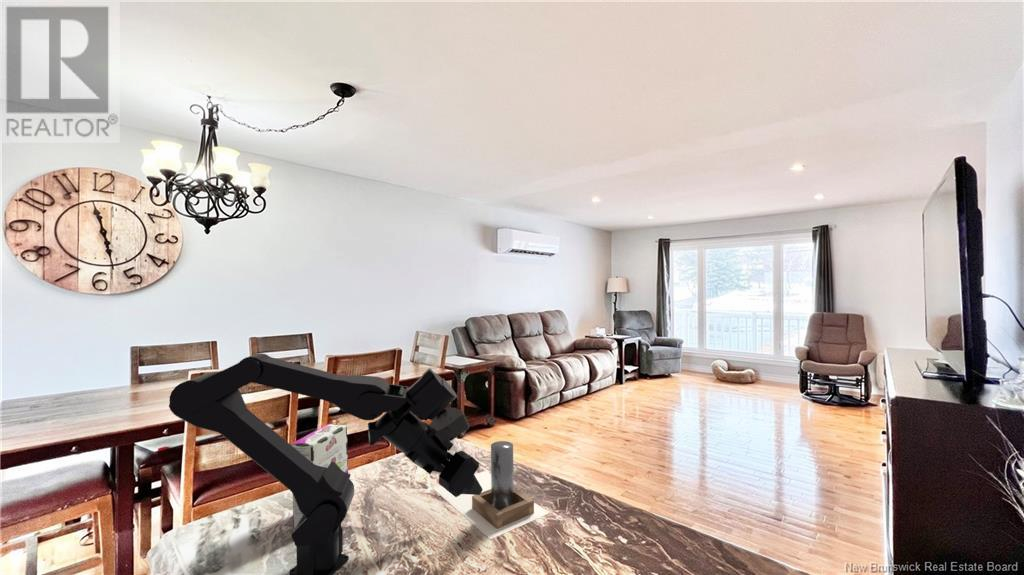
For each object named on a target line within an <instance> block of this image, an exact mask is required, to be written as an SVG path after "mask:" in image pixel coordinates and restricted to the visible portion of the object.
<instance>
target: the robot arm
mask: <svg viewBox="0 0 1024 575" xmlns="http://www.w3.org/2000/svg"><path fill="white" fill-rule="evenodd" d="M252 383H253V384H258V385H262V386H266V387H271V388H274V389H278V390H281V391H285V392H289V393H294V394H298V395H303V396H306V397H309V398H310V397H311V398H314V399H317V400H322V401H326V402H328V403H331V404H332V405H334V406H335V407H337V408H338V409H340V410H341V411H343V412H344V413H347V414H348V415H350V416H353V417H355V418H358V419H359V420H363V421H370V422H368V423H367V430H368V431H367V432H368V433H367V436H368V442H369V443H368V444H369V446H371V447H373V446H374V445H375V444H377V442H378V441H380V440H381V439H382V438H383V439H385V440H386V441H387V442H389V443H390V444H391V445H393V447H394V448H396V449H398V450H399V452H401V453H403V455H404V456H405V457H406V458H407V459H409V461H411V462H412V463H414V464H415V465H417V466H418V467H419V468H421V469H423V470H424V471H425V472H426V473H427V474H429V475H432V473H433V472H436V473H439V475H438V484H439V486H442V487H444V488H445V489H446V490H447V491H448V492H450V493H451V494H452V495H453V496H455V497H458V496H460V495H461V494H471V495H480V493H481V492H482V490H483V489H482V487H481V486H480V484H479V482H478V480H477V479H476V477H475V474H476V473H477V471H478V470H479V468H480V462H478V460H476V459H475V458H474V457H473V456H471V455H470V454H468V452H465V451H463V450H460V451H456V452H455V453H454V454H452V453H451V452H449V451H451V449H452V447H454V445H455V444H454V443H452V442H451V441H454V440H455V439H456V438H457V437H459V436H460V435H461V434H463V433H464V432H467V431H468V430H469V429H470V424H469V422H468V419H467V417H466V415H465V413H464V412H463V410H461V409H458V408H456V407H450V406H449V405H450V404H451V403H452V402H453V401H454V400H456V398H457V397H458V395H457V393H456V392H455V390H454V388H452V386H451V385H450V384H449V383H448V382H447V380H445V378H444V377H443V378H442V377H441V376H440V375H439V374H437V373H436V372H434V371H433V369H431V368H428V369H427V370H425V371H424V372H423V373H422V375H421V376H420V377H419V378H418V379H417V380H416V381H415V382H414V383H413V384H412V385H411V386H406V385H401V384H399V385H398V384H391V383H389V382H388V380H386V379H384V378H383V377H379V376H372V375H363V374H362V375H361V374H355V375H354V374H351V375H349V374H348V375H343V374H337V373H333V372H328V371H325V370H321V369H317V368H314V367H309V366H307V365H302V364H298V363H294V362H291V361H287V360H285V359H284V360H283V359H280V358H275V357H272V356H270V355H268V354H265V353H260V352H259V353H254V354H253V355H252V354H251V355H250V356H247V357H244V358H243V359H241V360H240V361H238V362H237V363H235V364H234V365H231V366H230V367H227V368H225V369H223V370H221V371H217V372H213V371H212V372H207V373H205V374H204V373H203V374H201V375H199V376H196V377H194V378H191V379H189V380H185V381H183V382H181V383H179V384H177V385H176V386H175V387H174V388H173V390H172V391H171V392H170V395H169V404H168V407H169V410H170V411H171V413H172V414H173V415H174V416H175V417H178V418H179V419H181V420H183V421H184V422H186V423H188V424H189V425H192V427H195V428H198V429H199V428H200V429H202V430H203V429H204V430H206V431H210V432H215V433H218V434H219V435H221V436H223V437H224V438H225V439H226V440H228V441H229V443H231V444H233V446H235V447H236V448H237V449H238V450H239V451H241V452H242V453H244V454H245V455H246V456H248V458H249V459H250V460H252V461H253V462H255V463H256V465H258V466H260V467H261V468H262V469H263V470H265V471H266V472H267V473H269V475H271V476H272V477H273V478H274V479H275V480H277V481H278V482H279V483H280V484H282V485H283V486H284V487H285V488H287V489H288V490H289V491H290V492H291V493H292V497H293V496H294V498H295V501H296V503H297V505H298V508H299V510H300V512H301V513H302V514H303V516H302V517H301V519H300V521H299V522H298V524H297V526H296V528H293V529H294V530H293V531H292V533H291V538H292V541H293V543H294V545H295V547H296V550H295V551H296V553H295V554H296V555H295V556H296V565H295V566H293V567H292V568H291V569H290V570H289V571H288V574H289V575H332V574H334V573H335V572H337V570H339V569H340V568H341V567H342V566H343V565H345V564H346V563H347V562H348V561H349V559H350V556H349V555H348V554H343V551H344V548H343V547H344V545H343V544H344V543H343V542H344V539H343V536H344V534H343V527H342V523H343V522H344V520H345V518H346V516H347V513H348V511H349V509H350V506H351V503H352V501H353V498H354V496H355V485H354V483H353V481H352V480H351V479H350V478H351V473H349V472H348V473H345V472H344V471H342V470H341V469H340V468H339V467H338V465H337V464H336V463H334V462H331V463H330V465H329V466H328V468H326V467H322V466H317V465H315V464H313V463H312V462H311V461H309V460H308V459H307V458H306V457H305V456H303V455H302V454H301V453H300V452H299V451H297V450H296V449H295V448H294V447H293V446H291V444H290V443H289V442H288V441H286V439H284V438H283V437H282V436H281V435H279V434H278V433H277V432H276V431H274V430H273V429H272V428H271V427H270V426H268V424H266V423H265V422H264V421H263V420H262V419H260V418H259V417H258V416H257V415H256V414H254V413H253V412H252V411H250V410H249V409H248V406H246V402H245V400H244V398H243V395H242V393H241V391H240V390H239V389H241V388H244V387H246V385H249V384H252ZM446 408H447V409H446ZM381 415H382V416H381ZM377 418H379V419H377ZM375 419H377V420H375ZM373 420H375V421H373ZM428 420H430V421H431V423H430V424H428V423H426V421H428Z"/></svg>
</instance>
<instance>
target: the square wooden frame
mask: <svg viewBox="0 0 1024 575" xmlns="http://www.w3.org/2000/svg"><path fill="white" fill-rule="evenodd" d="M513 503H514V504H513V505H511V506H509V507H506V508H504V509H501V510H497V509H496V508H495V507H493V506H492V505H491V489H490V490H487V491H484V492H482V493H480V495H473V496H472V509H473V510H475V511H476V512H477V513H478V514H480V515H481V516H482V517H483V518H484V519H486V520H487V521H488V522H489V523H490V524H492V525H493V526H494V527H495V528H496V529H498V528H501V527H503V526H505V525H508V524H510V523H512V522H514V521H517V520H519V519H521V518H524V517H526V516H528V515H531V514H533V513H534V503H535V500H534V499H533V498H531V497H530V496H528V495H527V494H525V493H523V492H522V491H520V490H519V489H517V488H515V487H514V486H513Z"/></svg>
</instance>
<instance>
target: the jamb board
mask: <svg viewBox="0 0 1024 575" xmlns="http://www.w3.org/2000/svg"><path fill="white" fill-rule="evenodd" d="M474 475H475V477H476V479H477V480H478V482H479V484H480V486H481V487H482V489H483V490H482V492H484V491H487V490H490V489H491V472H489V471H487V470H484V471H480V472H478V473H475V474H474ZM432 490H433V491H435V492H436V493H437V494H438V495H439V496H440V497H442V498H443V499H444V500H445V501H446V502H447V503H449V504H450V505H451V507H453V508H454V509H456V510H457V512H459V513H460V514H461V515H462V516H463V517H464V518H466V520H468V521H469V522H470V523H471V524H472V525H473V526H474V527H476V529H478V530H479V531H480V532H482V534H484V535H485V536H486V537H487V538H488V539H489V540H492V539H493V540H494V539H495V538H497V537H499V536H502V535H504V534H506V533H508V532H511V531H513V530H515V529H518V528H521V526H524V525H526V524H528V523H531V522H533V521H535V520H537V519H539V518H542V517H544V516H547V515H549V514H550V511H548V510H546V509H545V508H543V507H541V506H540V505H539V504H538V503H536V502H534V513H533V514H531V515H528V516H526V517H524V518H521V519H519V520H517V521H514V522H512V523H510V524H508V525H505V526H503V527H501V528H498V529H496V528H495V527H494V526H493V525H492V524H490V523H489V522H488V521H487V520H486V519H484V518H483V517H482V516H481V515H480V514H478V513H477V512H476V511H475V510H473V509H472V496H473V495H471V494H461V495H460V496H458V497H455V496H453V495H452V494H451V493H450V492H448V491H447V490H446V489H445V488H444V487H442V486H441V485H439V486H435V487H432ZM482 492H481V493H482Z"/></svg>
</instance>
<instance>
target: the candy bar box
mask: <svg viewBox="0 0 1024 575" xmlns="http://www.w3.org/2000/svg"><path fill="white" fill-rule="evenodd" d="M290 445H291V446H293V447H294V448H295V449H296V450H297V451H299V452H300V453H301V454H302V455H303V456H305V457H306V458H307V459H308V460H309V461H311V462H312V463H313V464H315V465H317V466H322V467H326V468H328V466H329V465H330V463H331V462H334V463H336V464H337V465H338V467H339V468H340V469H341V470H342V471H344V472H345V473H348V474H349V466H348V465H349V464H348V461H349V460H348V456H349V455H348V453H349V452H348V425H347V424H338V423H336V424H335V423H327V424H326V425H324V426H322V427H320V428H317V429H316V430H314V431H312V432H310V433H309V434H307V435H305V436H303V437H301V438H300V439H298V440H296V441H294V442H292V443H291V444H290ZM292 514H293V515H292V520H293V522H292V523H293V529H295V528H296V526H297V524H298V522H299V521H300V519H301V517H302V516H303V514H302V513H301V512H300V510H299V508H298V505H297V503H296V501H295V498H294V496H293V495H292Z"/></svg>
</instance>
